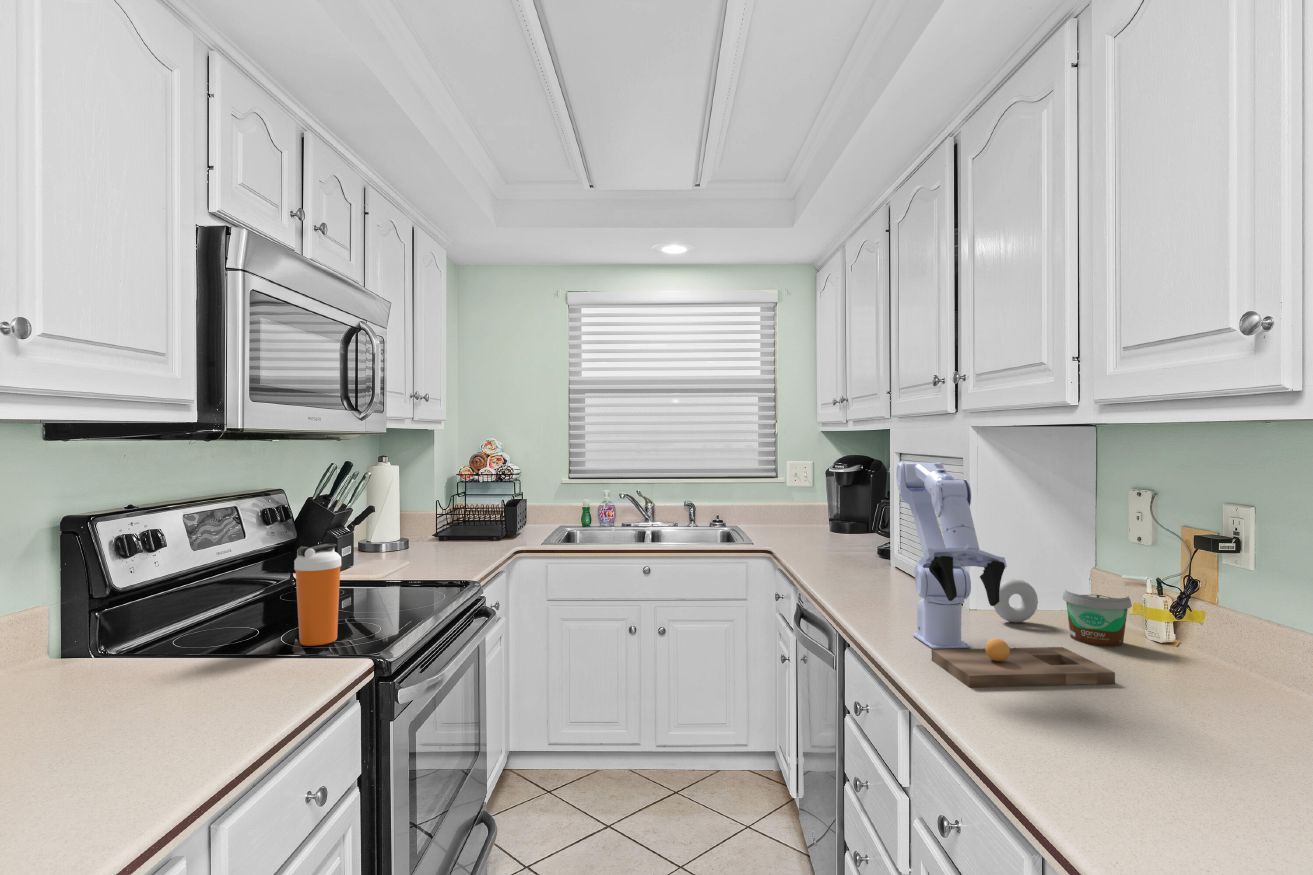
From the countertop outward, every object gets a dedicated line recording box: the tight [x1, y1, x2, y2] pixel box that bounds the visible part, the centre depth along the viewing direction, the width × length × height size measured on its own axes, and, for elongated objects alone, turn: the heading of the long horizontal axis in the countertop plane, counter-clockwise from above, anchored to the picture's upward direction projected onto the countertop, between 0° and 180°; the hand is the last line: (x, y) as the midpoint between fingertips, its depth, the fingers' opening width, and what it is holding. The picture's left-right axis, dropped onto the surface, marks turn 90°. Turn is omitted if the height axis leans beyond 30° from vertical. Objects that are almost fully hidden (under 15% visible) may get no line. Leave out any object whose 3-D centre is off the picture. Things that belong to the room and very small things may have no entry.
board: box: [931, 646, 1116, 688], centre depth 125 cm, size 14×26×2 cm, turn 93°
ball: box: [984, 638, 1010, 661], centre depth 124 cm, size 4×4×4 cm
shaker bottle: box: [293, 543, 342, 647], centre depth 144 cm, size 9×9×20 cm
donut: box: [993, 578, 1039, 624], centre depth 156 cm, size 10×4×10 cm, turn 89°
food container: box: [1062, 589, 1132, 648], centre depth 141 cm, size 12×6×10 cm, turn 62°
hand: (973, 601), depth 121 cm, fingers open, 7 cm apart
